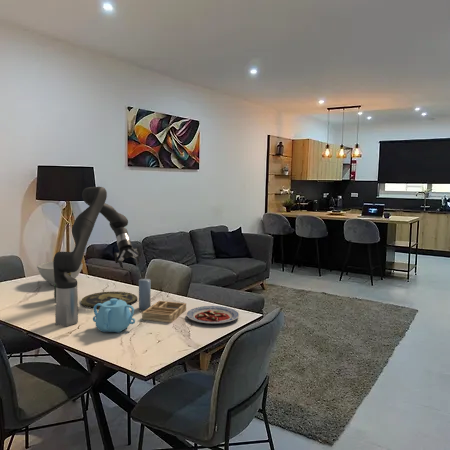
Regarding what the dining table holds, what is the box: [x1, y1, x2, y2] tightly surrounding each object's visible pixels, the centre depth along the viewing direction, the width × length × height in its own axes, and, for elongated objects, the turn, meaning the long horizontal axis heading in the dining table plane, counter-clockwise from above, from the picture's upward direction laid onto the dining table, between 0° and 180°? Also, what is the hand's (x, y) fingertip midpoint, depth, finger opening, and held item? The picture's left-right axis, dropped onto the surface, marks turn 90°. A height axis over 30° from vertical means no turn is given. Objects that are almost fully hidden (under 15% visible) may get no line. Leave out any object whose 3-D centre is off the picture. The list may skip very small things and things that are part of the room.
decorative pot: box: [92, 298, 136, 333], centre depth 182 cm, size 16×16×14 cm
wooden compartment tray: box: [141, 300, 187, 324], centre depth 203 cm, size 20×15×4 cm
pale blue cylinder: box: [138, 278, 152, 311], centre depth 212 cm, size 6×6×15 cm
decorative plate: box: [80, 291, 138, 310], centre depth 225 cm, size 30×2×30 cm
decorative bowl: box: [36, 260, 84, 286], centre depth 260 cm, size 27×27×12 cm
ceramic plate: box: [186, 305, 240, 325], centre depth 200 cm, size 26×26×3 cm
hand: (130, 265), depth 220 cm, fingers open, 8 cm apart
